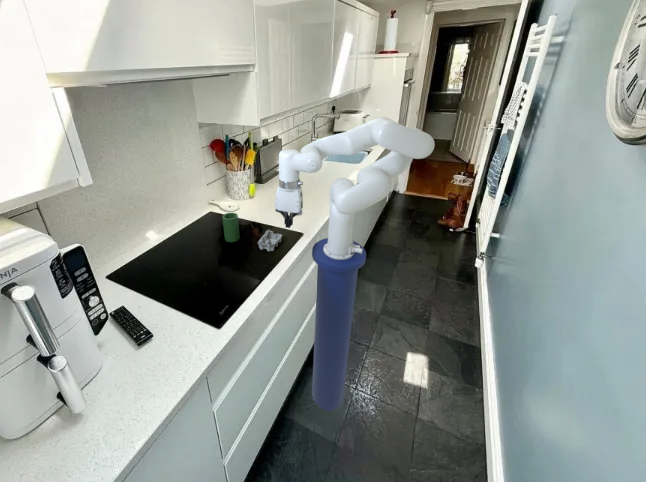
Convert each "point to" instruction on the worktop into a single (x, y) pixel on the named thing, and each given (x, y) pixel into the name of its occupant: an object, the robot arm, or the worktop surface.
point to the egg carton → (269, 240)
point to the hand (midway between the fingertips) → (288, 226)
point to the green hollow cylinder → (231, 227)
